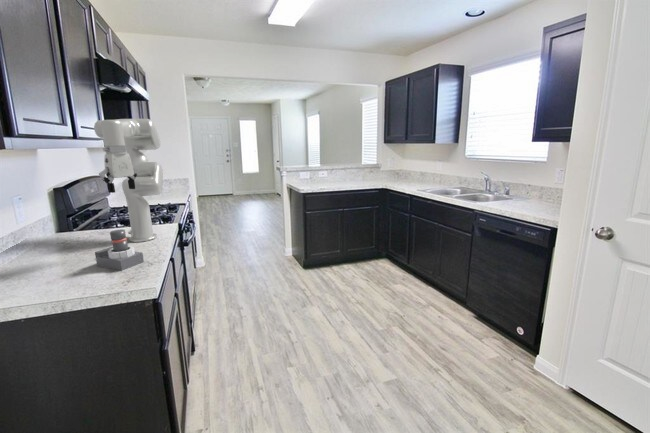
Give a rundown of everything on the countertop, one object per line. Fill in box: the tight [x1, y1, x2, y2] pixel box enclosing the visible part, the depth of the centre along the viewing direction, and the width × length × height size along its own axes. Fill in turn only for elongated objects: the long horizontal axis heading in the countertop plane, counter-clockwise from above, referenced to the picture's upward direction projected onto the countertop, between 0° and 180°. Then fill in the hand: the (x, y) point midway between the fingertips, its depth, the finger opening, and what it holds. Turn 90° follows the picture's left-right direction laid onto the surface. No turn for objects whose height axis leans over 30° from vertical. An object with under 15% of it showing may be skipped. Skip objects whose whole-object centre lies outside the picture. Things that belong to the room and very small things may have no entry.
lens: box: [109, 228, 129, 252], centre depth 136 cm, size 5×5×10 cm
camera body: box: [94, 245, 145, 271], centre depth 138 cm, size 14×10×6 cm
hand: (122, 190), depth 146 cm, fingers open, 9 cm apart
